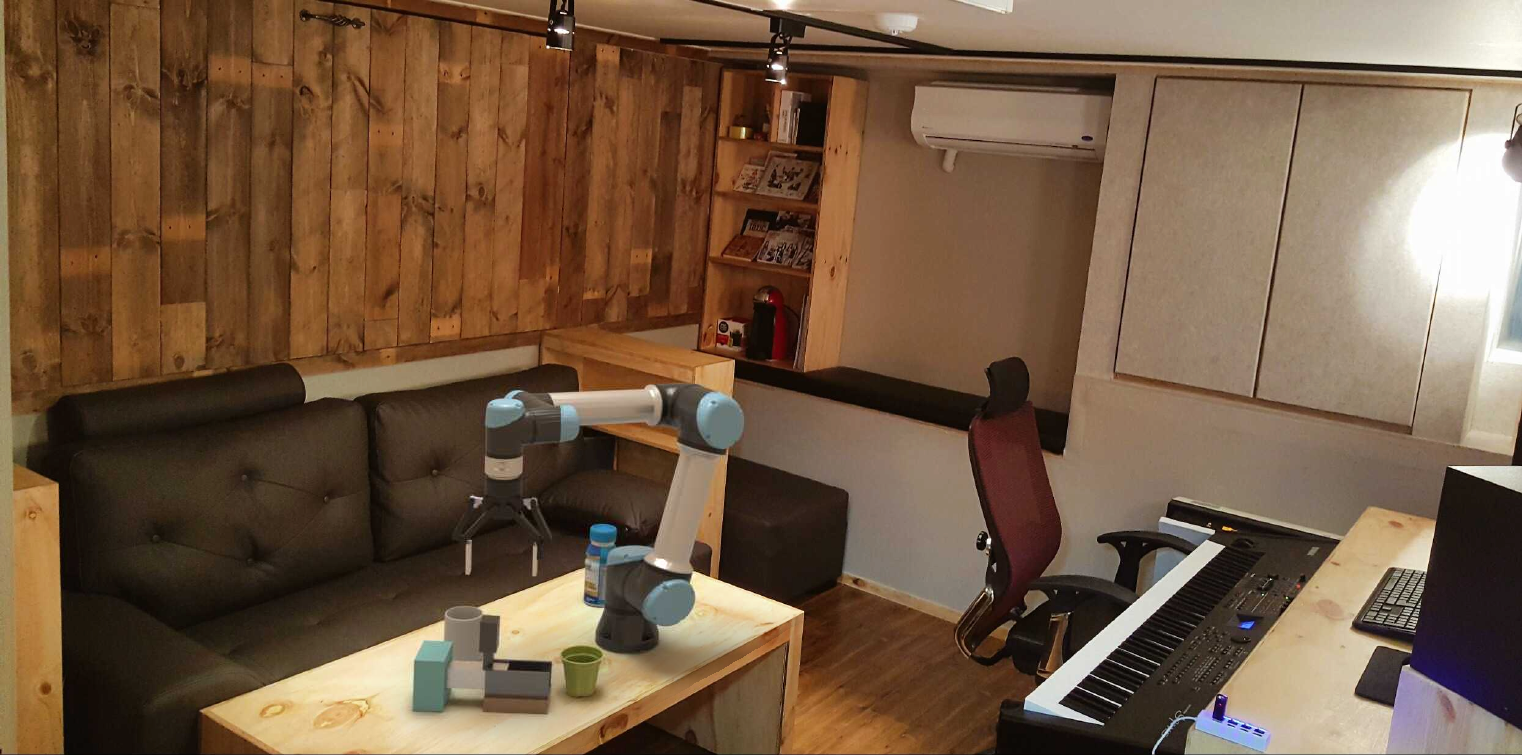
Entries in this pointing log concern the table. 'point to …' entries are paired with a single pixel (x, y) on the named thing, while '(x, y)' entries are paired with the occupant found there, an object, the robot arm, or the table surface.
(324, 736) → the table surface
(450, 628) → the mug
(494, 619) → the grey sliding latch bolt
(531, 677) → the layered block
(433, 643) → the socket block
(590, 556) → the beverage bottle
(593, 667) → the plant pot
